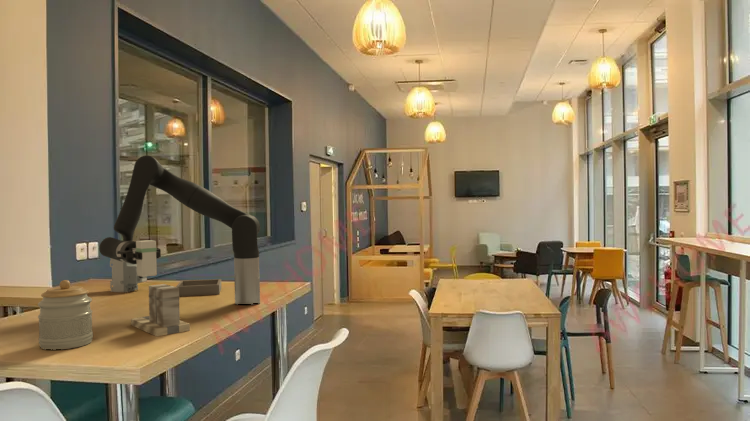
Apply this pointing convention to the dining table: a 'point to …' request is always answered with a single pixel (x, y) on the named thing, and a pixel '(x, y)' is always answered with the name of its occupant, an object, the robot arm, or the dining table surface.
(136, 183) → the robot arm
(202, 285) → the coaster tray
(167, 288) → the grey marble bookend
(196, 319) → the dining table surface
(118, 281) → the circuit breaker
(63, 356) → the dining table surface
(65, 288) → the jar
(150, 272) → the block
